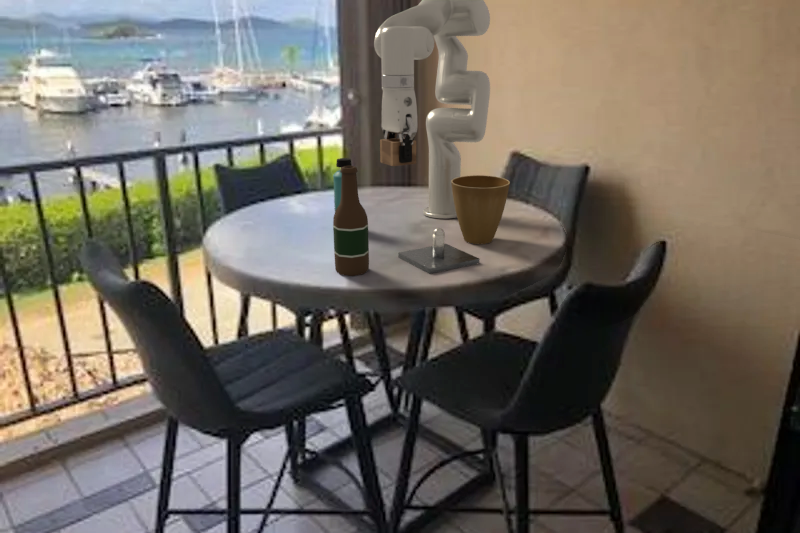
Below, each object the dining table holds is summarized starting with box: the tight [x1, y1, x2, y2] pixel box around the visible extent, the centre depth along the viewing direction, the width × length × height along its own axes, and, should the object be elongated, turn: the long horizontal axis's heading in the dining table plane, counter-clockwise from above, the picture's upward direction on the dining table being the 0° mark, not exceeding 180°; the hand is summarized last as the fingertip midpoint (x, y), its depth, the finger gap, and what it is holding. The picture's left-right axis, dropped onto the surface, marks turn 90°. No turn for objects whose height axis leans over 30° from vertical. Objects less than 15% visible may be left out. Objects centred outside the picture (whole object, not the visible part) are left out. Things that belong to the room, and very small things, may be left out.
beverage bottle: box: [332, 157, 353, 214], centre depth 173 cm, size 6×7×20 cm
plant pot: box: [451, 174, 511, 245], centre depth 163 cm, size 15×15×16 cm
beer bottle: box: [332, 165, 370, 277], centre depth 140 cm, size 8×8×24 cm
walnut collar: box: [379, 137, 417, 167], centre depth 151 cm, size 6×6×6 cm
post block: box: [397, 227, 481, 275], centre depth 149 cm, size 14×14×8 cm
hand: (398, 159), depth 152 cm, fingers closed on walnut collar, 6 cm apart
